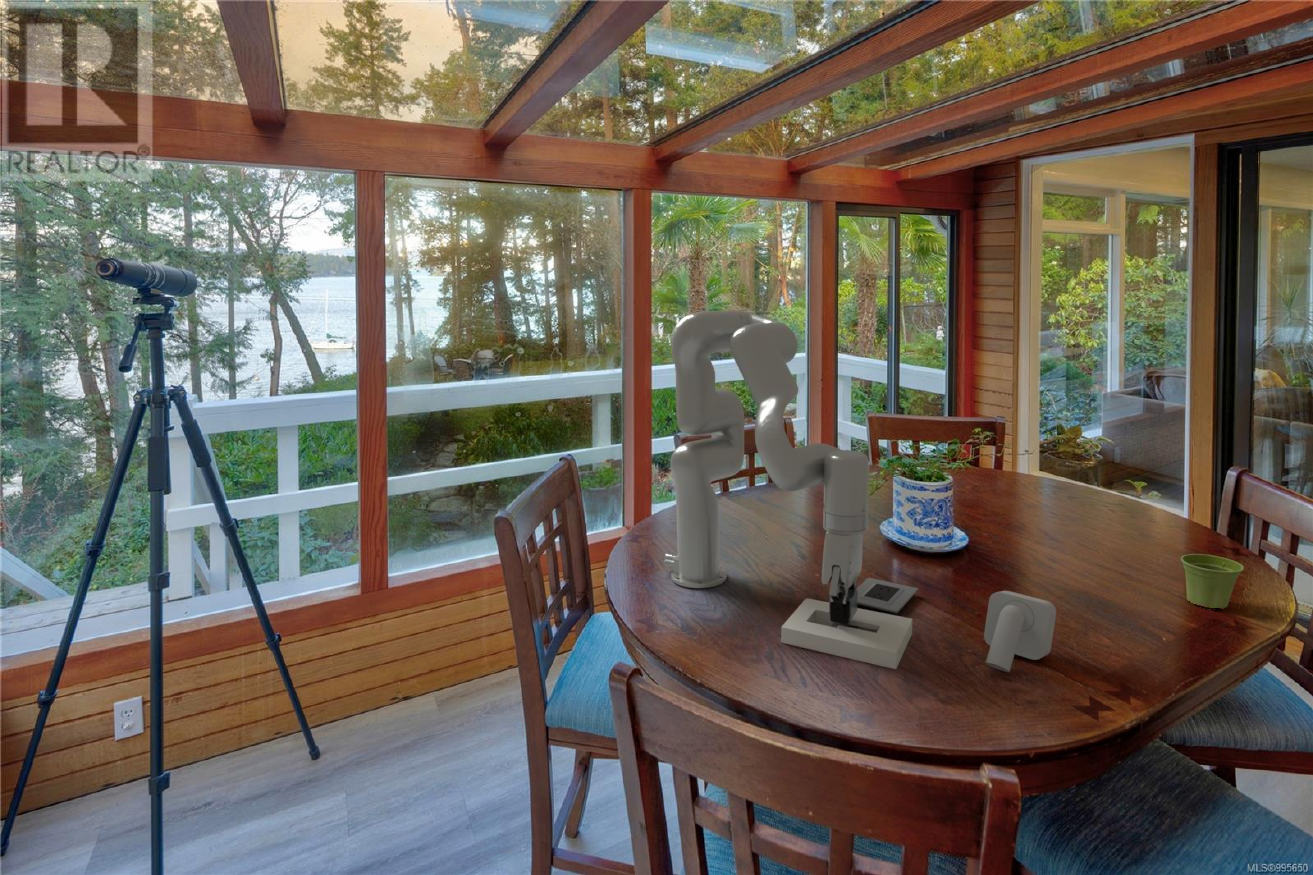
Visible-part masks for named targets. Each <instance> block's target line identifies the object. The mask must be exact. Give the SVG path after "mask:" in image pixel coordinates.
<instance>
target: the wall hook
mask: <svg viewBox="0 0 1313 875" xmlns="http://www.w3.org/2000/svg"><path fill="white" fill-rule="evenodd" d="M1056 617H1057V608H1056V606H1055V605H1054V604H1053V603H1052V602H1050V601H1049V600H1046V599H1043V598H1038V597H1032V596H1030V595H1025V594H1021V593H1019V592H1015V591H1010V590H1002V591H997V592H994V593H992V594H991V595H990V597H989V599H988V606H987V612H986V619H985V625H984V632H983V637H984V638H983V639H984V641H985V642H986V644H987V645H988V646H989V650H988V654H987V656H986V661H985V664H986V665H988V666H989V667H991V668H994V669H996V670H999V671H1001V672H1002V671H1003V672H1006V673H1010V672H1011V670H1012V666H1013V665H1012V663H1013V662H1014V657H1015V655H1017V656H1020V657H1022V658H1026V659H1029V660H1034V661H1037V660H1041V659H1042V658H1044V657H1046V656H1048V655H1049V654H1050V652H1051V649H1052V642H1053V637H1054V631H1055V623H1056Z"/></svg>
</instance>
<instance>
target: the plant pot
mask: <svg viewBox="0 0 1313 875" xmlns="http://www.w3.org/2000/svg"><path fill="white" fill-rule="evenodd" d="M1180 561H1181V562H1182V564H1183V569H1184V575H1185V587H1186V588H1185V589H1186V601H1187V600H1188V601H1187V602H1189V601H1190V603H1191V604H1192V603H1193V604H1197V605H1201V606H1204V607H1209V608H1225V607H1227V608H1228V606H1229V602H1230V600H1231V596H1232V593H1233V590H1234V587H1235V584H1236V582H1237V579H1238V578H1239V576H1240V574H1241V573H1242V572H1244V570H1245V566H1244V565H1243V564H1242V563H1240V562H1238V561H1235V560H1232V559H1229V558H1226V557H1222V556H1217V555H1211V554H1203V553H1189V554H1183V555H1182V556H1181V557H1180ZM1193 604H1192V605H1193Z"/></svg>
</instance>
